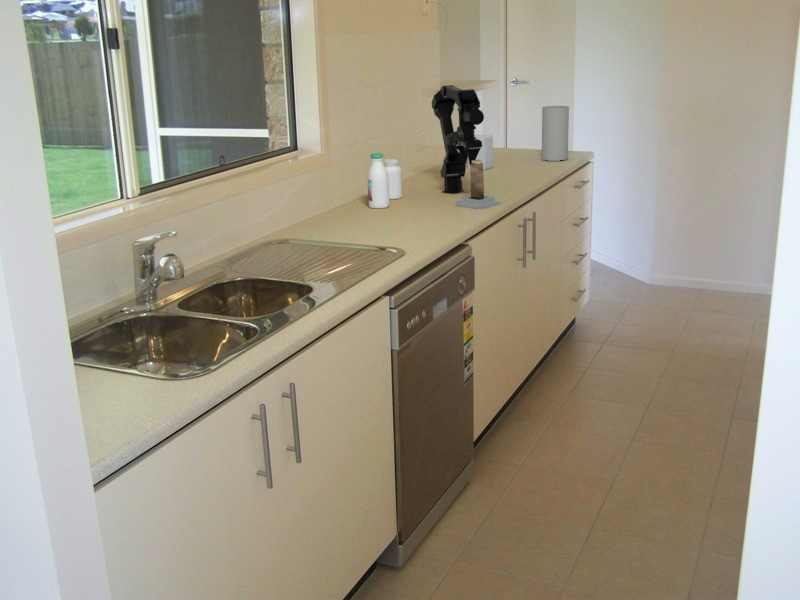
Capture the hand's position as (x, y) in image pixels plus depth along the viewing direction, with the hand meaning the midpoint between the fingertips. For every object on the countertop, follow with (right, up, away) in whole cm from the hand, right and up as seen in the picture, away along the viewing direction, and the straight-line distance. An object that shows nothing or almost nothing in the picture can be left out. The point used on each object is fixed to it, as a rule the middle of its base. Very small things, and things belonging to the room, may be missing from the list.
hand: (467, 165), depth 332 cm
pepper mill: (+3, -15, -8) cm, 17 cm away
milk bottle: (-34, -17, -5) cm, 38 cm away
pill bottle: (-29, -11, +12) cm, 33 cm away
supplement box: (+12, +10, +74) cm, 76 cm away
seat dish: (+3, -16, -7) cm, 18 cm away
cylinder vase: (+49, +17, +90) cm, 104 cm away
